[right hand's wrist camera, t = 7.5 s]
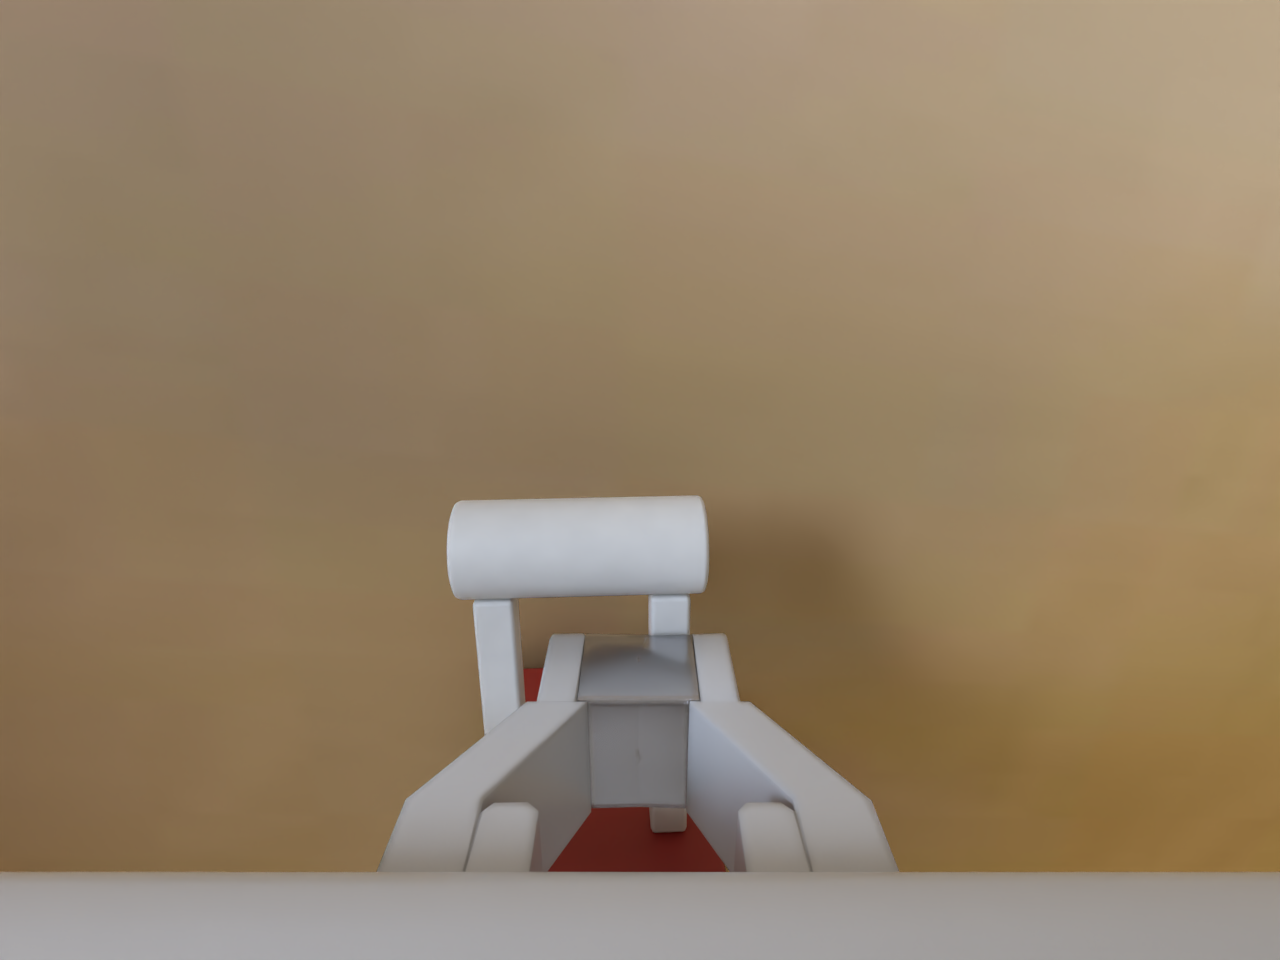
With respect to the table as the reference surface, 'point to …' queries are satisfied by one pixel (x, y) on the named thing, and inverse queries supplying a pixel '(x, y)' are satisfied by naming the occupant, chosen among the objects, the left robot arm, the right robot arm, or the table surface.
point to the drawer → (575, 567)
